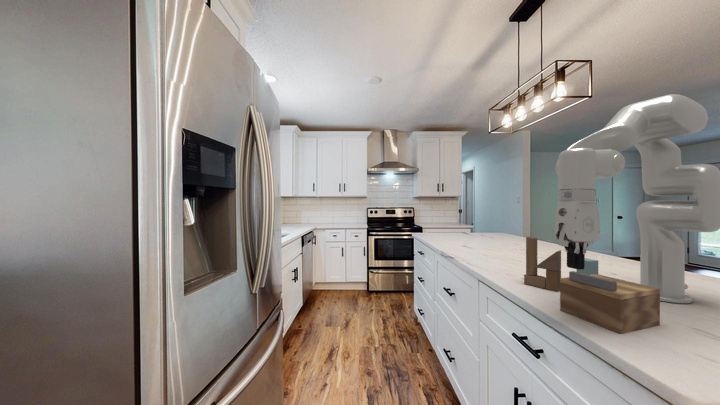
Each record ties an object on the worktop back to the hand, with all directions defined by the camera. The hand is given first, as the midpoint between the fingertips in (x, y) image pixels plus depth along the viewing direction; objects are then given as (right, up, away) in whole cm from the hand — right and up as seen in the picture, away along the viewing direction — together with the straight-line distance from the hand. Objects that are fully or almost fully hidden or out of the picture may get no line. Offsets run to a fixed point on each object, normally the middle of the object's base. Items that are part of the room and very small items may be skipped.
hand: (575, 268), depth 67 cm
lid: (+12, -6, +4) cm, 14 cm away
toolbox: (+12, -14, +4) cm, 19 cm away
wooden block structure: (+11, -14, +29) cm, 34 cm away
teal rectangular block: (+20, -14, +20) cm, 32 cm away
